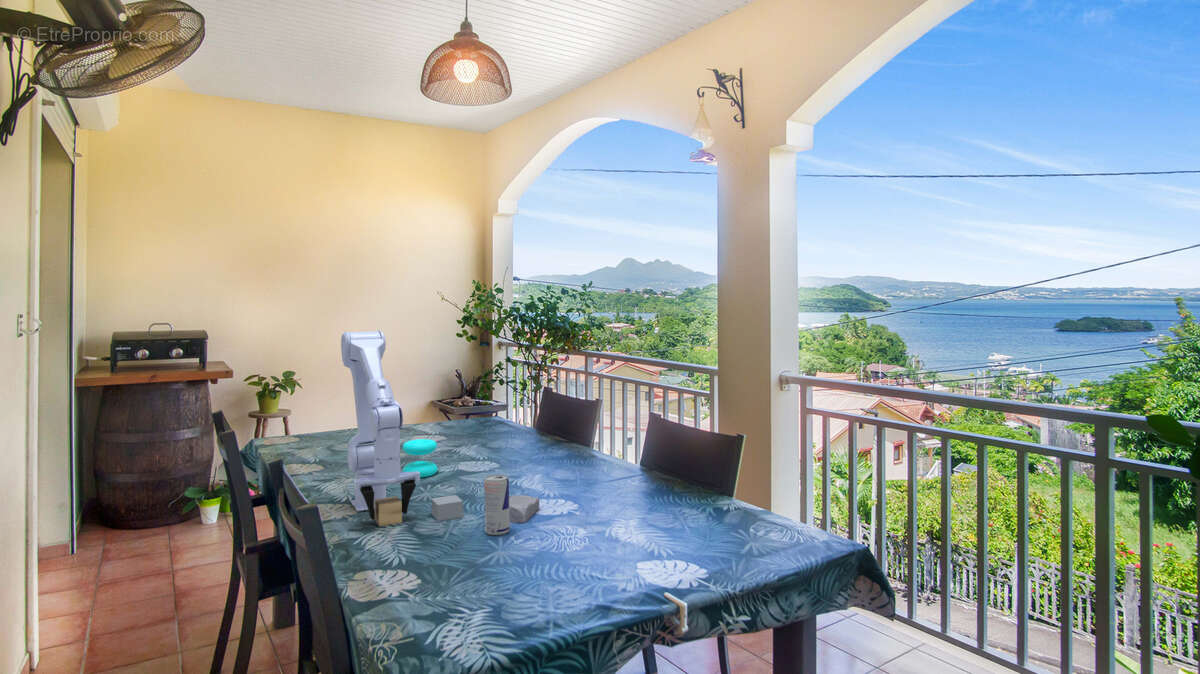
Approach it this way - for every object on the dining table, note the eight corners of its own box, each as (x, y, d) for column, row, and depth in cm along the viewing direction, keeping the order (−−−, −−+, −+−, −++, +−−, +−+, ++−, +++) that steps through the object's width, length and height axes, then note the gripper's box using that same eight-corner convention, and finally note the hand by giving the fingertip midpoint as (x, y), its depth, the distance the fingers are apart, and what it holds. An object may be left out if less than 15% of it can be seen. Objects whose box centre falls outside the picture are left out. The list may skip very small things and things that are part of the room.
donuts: (408, 438, 197) (440, 438, 196) (409, 470, 197) (441, 470, 197) (397, 445, 187) (431, 444, 186) (398, 479, 187) (432, 478, 187)
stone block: (487, 530, 148) (528, 523, 146) (483, 509, 148) (524, 503, 146) (505, 515, 159) (543, 509, 157) (501, 496, 160) (539, 490, 158)
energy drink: (513, 528, 142) (513, 475, 142) (502, 536, 137) (501, 481, 137) (492, 526, 144) (491, 473, 144) (480, 534, 139) (479, 479, 139)
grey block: (431, 515, 154) (431, 498, 153) (456, 511, 156) (455, 494, 156) (438, 522, 148) (437, 505, 148) (463, 517, 151) (463, 501, 151)
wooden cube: (375, 520, 149) (374, 499, 149) (397, 517, 152) (396, 496, 152) (379, 526, 145) (379, 505, 145) (402, 523, 147) (401, 501, 147)
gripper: (357, 464, 141) (358, 525, 141) (423, 456, 148) (424, 514, 148) (351, 458, 147) (353, 517, 147) (415, 451, 154) (416, 506, 155)
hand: (388, 515), depth 148 cm, fingers open, 7 cm apart
